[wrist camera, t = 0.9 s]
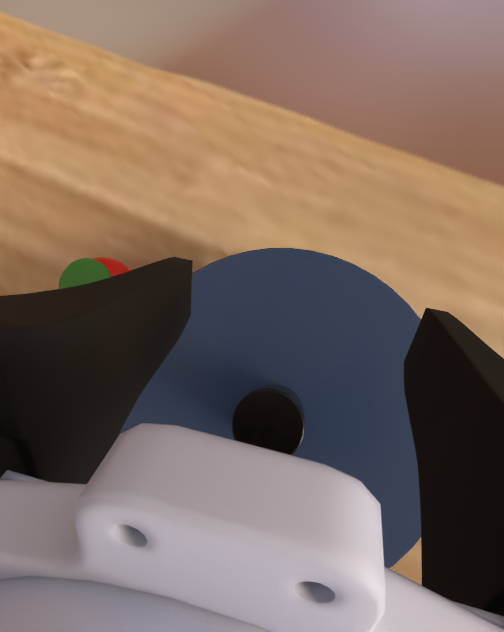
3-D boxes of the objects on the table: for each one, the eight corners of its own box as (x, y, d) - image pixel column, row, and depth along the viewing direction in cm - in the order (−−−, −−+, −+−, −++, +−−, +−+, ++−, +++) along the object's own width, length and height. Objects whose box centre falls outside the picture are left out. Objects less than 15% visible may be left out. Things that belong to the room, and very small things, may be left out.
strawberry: (145, 337, 26) (107, 329, 21) (89, 323, 27) (39, 312, 22) (161, 277, 26) (128, 255, 21) (106, 265, 27) (60, 241, 22)
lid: (413, 638, 17) (461, 754, 12) (86, 528, 19) (8, 585, 14) (475, 288, 18) (540, 257, 13) (167, 229, 21) (124, 183, 16)
